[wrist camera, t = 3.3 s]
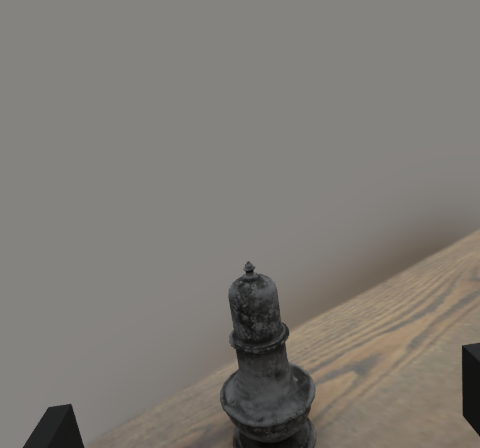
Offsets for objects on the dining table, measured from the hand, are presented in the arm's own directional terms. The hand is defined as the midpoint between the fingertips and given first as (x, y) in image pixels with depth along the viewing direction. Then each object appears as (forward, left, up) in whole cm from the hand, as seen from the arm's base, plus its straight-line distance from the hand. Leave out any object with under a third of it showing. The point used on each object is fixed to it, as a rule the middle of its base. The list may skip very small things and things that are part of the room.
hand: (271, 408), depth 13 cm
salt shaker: (0, +10, -10) cm, 14 cm away
